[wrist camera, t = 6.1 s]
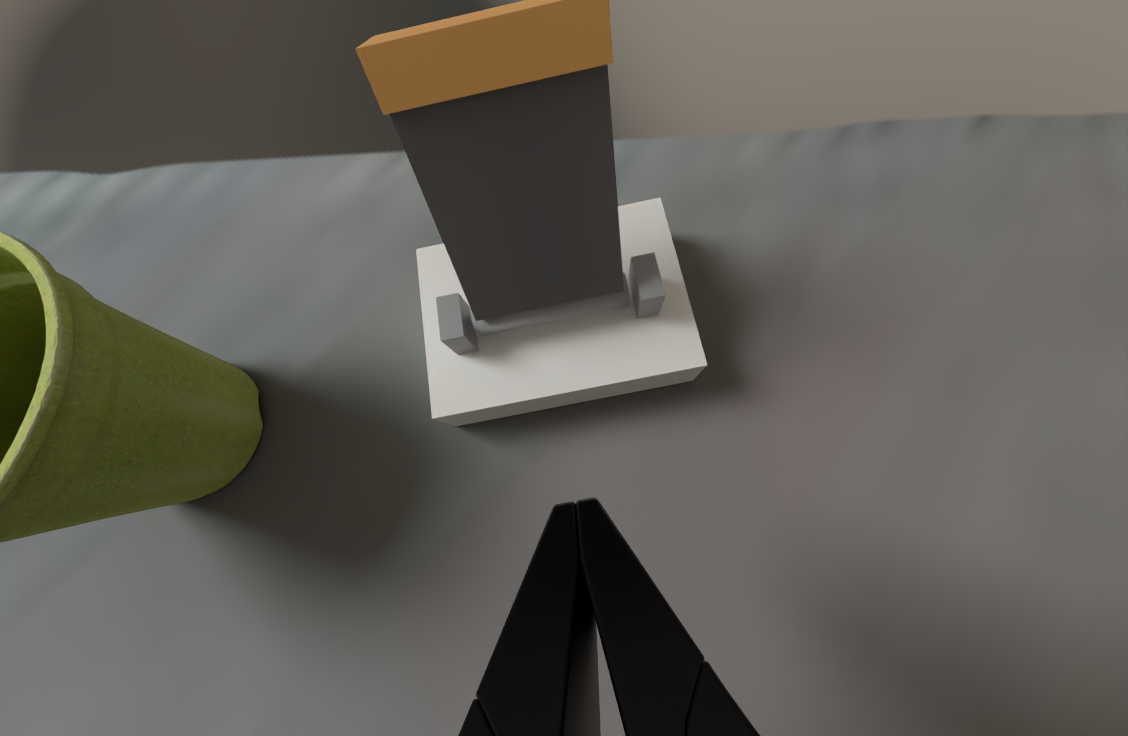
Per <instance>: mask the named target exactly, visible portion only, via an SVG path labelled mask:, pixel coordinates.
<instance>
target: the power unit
mask: <svg viewBox="0 0 1128 736" xmlns="http://www.w3.org/2000/svg"><path fill="white" fill-rule="evenodd" d="M618 216H619V229H620V243H621V256H622V270H623V272H624V273H625V276H626V279H627V283H628V288H629V295H630V306H628V307H623V308H618V309H613V310H608V311H603V312H598V313H593V314H588V315H583V316H578V317H573V318H568V319H563V320H558V321H553V322H548V323H543V324H538V325H533V326H528V327H524V328H519V329H514V330H509V331H504V332H499V333H494V334H489V335H484V336H478V335H477V334H476V332H475V329H474V326H473V323H472V319H471V313H470V306H469V303H468V301H467V298H466V296H465V294H464V291H463V289H462V286H461V284H460V281H459V279H458V277H457V274H456V272H455V269H454V267H453V265H452V262H451V260H450V257H449V255H448V253H447V250H446V248H445V245H444V243H443V244H439V245H434V246H429V247H425V248H420V249H416V253H417V264H418V274H419V285H420V296H421V306H422V317H423V328H424V338H425V349H426V360H427V370H428V381H429V392H430V402H431V413H432V419H435V420H438V421H441V422H444V423H447V424H450V425H453V426H461V425H466V424H471V423H476V422H482V421H487V420H492V419H497V418H502V417H508V416H513V415H518V414H523V413H528V412H533V411H539V410H544V409H549V408H554V407H559V406H565V405H570V404H575V403H580V402H585V401H590V400H596V399H601V398H606V397H611V396H616V395H622V394H627V393H632V392H637V391H642V390H648V389H653V388H658V387H663V386H668V385H673V384H679V383H684V382H689V381H693V380H694V379H695V378H696V377H697V376H698V375H699V374H700V373H701V371H702V370H703V369H704V368H705V367H706V366H707V362H706V358H705V354H704V351H703V347H702V344H701V340H700V337H699V333H698V330H697V326H696V323H695V319H694V315H693V312H692V308H691V305H690V301H689V298H688V294H687V291H686V287H685V283H684V280H683V276H682V273H681V269H680V266H679V262H678V259H677V255H676V251H675V248H674V244H673V241H672V237H671V234H670V230H669V227H668V223H667V219H666V216H665V212H664V209H663V205H662V202H661V198H656V199H651V200H646V201H641V202H637V203H632V204H627V205H623V206H618Z"/></svg>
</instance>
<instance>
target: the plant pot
mask: <svg viewBox="0 0 1128 736" xmlns="http://www.w3.org/2000/svg"><path fill="white" fill-rule="evenodd" d="M258 395H259V391H258V389H257V387H256V385H255V383H254V382H253V381H252V379H251V378H250V377H249V376H248V375H247V374H246V373H245V372H244V371H242V370H241V369H239V368H237V367H236V366H234V365H231V364H229V363H227V362H225V361H223V360H221V359H219V358H216V357H214V356H212V355H210V354H208V353H206V352H204V351H202V350H199V349H197V348H195V347H193V346H191V345H189V344H187V343H184V342H182V341H180V340H178V339H176V338H174V337H172V336H170V335H168V334H165V333H163V332H161V331H159V330H157V329H155V328H153V327H151V326H149V325H147V324H145V323H143V322H141V321H139V320H136V319H134V318H132V317H130V316H128V315H126V314H124V313H122V312H120V311H118V310H116V309H114V308H112V307H110V306H108V305H106V304H104V303H102V302H100V301H99V300H97V299H95V298H94V297H93V296H92V295H91V294H90V293H88V292H87V291H86V290H85V289H84V288H83V287H82V286H81V285H79V284H78V283H76V282H74V281H73V280H71V279H69V278H67V277H65V276H63V275H61V274H59V273H58V272H56V271H55V270H54V268H53V267H52V266H51V264H50V263H49V262H48V261H47V260H46V259H45V258H44V257H43V256H42V255H41V254H40V253H39V252H38V251H36V250H35V249H34V248H32V247H31V246H29V245H28V244H26V243H25V242H23V241H21V240H19V239H17V238H15V237H13V236H11V235H8V234H6V233H4V232H1V231H0V542H5V541H9V540H13V539H18V538H22V537H27V536H31V535H35V534H40V533H44V532H48V531H53V530H57V529H62V528H66V527H70V526H75V525H79V524H83V523H88V522H92V521H96V520H101V519H105V518H110V517H115V516H119V515H124V514H129V513H134V512H138V511H143V510H148V509H153V508H158V507H163V506H168V505H173V504H178V503H182V502H187V501H191V500H195V499H198V498H200V497H203V496H205V495H208V494H210V493H213V492H215V491H217V490H219V489H221V488H222V487H224V486H225V485H227V484H228V483H229V482H231V481H232V480H233V479H234V478H235V477H236V476H237V475H238V474H239V473H240V472H241V471H242V470H243V469H244V467H245V466H246V465H247V463H248V462H249V460H250V458H251V457H252V455H253V453H254V451H255V449H256V447H257V445H258V443H259V439H260V436H261V433H262V427H263V423H262V419H261V416H260V411H259V403H258Z"/></svg>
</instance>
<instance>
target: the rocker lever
mask: <svg viewBox="0 0 1128 736" xmlns="http://www.w3.org/2000/svg"><path fill="white" fill-rule="evenodd" d="M356 51H357V54H358V56H359V58H360V61H361V63H362V65H363V68H364V70H365V72H366V75H367V77H368V79H369V82H370V84H371V86H372V89H373V91H374V94H375V96H376V98H377V101H378V103H379V105H380V108H381V110H382V112H383V114H384V115H386V114H390V115H391V118H392V120H393V122H394V125H395V127H396V130H397V132H398V135H399V137H400V139H401V142H402V144H403V147H404V149H405V151H406V154H407V156H408V159H409V161H410V163H411V166H412V168H413V171H414V173H415V176H416V178H417V180H418V183H419V185H420V188H421V190H422V192H423V195H424V197H425V200H426V202H427V204H428V207H429V209H430V212H431V214H432V216H433V219H434V221H435V224H436V226H437V229H438V231H439V233H440V236H441V238H442V241H443V243H444V245H445V248H446V250H447V253H448V255H449V257H450V260H451V262H452V265H453V267H454V269H455V272H456V274H457V277H458V279H459V281H460V284H461V286H462V289H463V291H464V294H465V296H466V298H467V301H468V303H469V306H470V313H471V319H472V323H473V326H474V329H475V332H476V334H477V335H478V336H484V335H489V334H494V333H499V332H504V331H509V330H514V329H519V328H524V327H528V326H533V325H538V324H543V323H548V322H553V321H558V320H563V319H568V318H573V317H578V316H583V315H588V314H593V313H598V312H603V311H608V310H613V309H618V308H623V307H628V306H630V295H629V288H628V283H627V279H626V276H625V273H624V272H623V270H622V256H621V243H620V229H619V216H618V202H617V189H616V175H615V162H614V148H613V135H612V122H611V108H610V95H609V81H608V67H607V64H611V63H613V56H612V41H611V27H610V11H609V0H525V1H520V2H516V3H512V4H508V5H504V6H499V7H495V8H491V9H487V10H482V11H478V12H474V13H469V14H465V15H461V16H457V17H453V18H448V19H444V20H440V21H435V22H432V23H427V24H423V25H419V26H415V27H410V28H406V29H402V30H397V31H393V32H389V33H384V34H380V35H376V36H373V37H372V38H371V39H369V40H368V41H366V42H365V43H363V44H362V45H360V46H359V47H358V48H356Z"/></svg>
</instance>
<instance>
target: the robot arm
mask: <svg viewBox="0 0 1128 736" xmlns="http://www.w3.org/2000/svg"><path fill="white" fill-rule="evenodd" d="M596 623H597V627H598V631H599V635H600V639H601V643H602V647H603V650H604V654H605V658H606V662H607V666H608V670H609V673H610V677H611V681H612V685H613V689H614V693H615V697H616V700H617V704H618V708H619V712H620V716H621V720H622V723H623V727H624V731H625V735H626V736H760V735H759V733H758V732H757V731H756V730H755V728H754V727H753V726H752V724H751V723H750V722H749V720H748V719H747V717H746V716H745V715H744V713H743V712H742V710H741V709H740V708H739V706H738V705H737V703H736V702H735V701H734V699H733V698H732V696H731V695H730V694H729V692H728V691H727V689H726V688H725V687H724V685H723V684H722V682H721V681H720V679H719V678H718V676H717V675H716V673H715V672H714V670H713V669H712V667H711V666H710V664H709V663H708V662H706V661H705V662H704V656H703V654H702V653H701V652H700V650H699V649H698V647H697V646H696V644H695V643H694V641H693V640H692V638H691V637H690V635H689V634H688V632H687V631H686V629H685V628H684V626H683V625H682V623H681V622H680V620H679V619H678V618H677V616H676V615H675V613H674V612H673V610H672V609H671V607H670V606H669V604H668V603H667V601H666V600H665V598H664V597H663V595H662V594H661V592H660V591H659V589H658V588H657V586H656V585H655V583H654V582H653V581H652V579H651V578H650V576H649V575H648V573H647V572H646V570H645V569H644V567H643V566H642V564H641V563H640V561H639V560H638V558H637V557H636V555H635V554H634V552H633V551H632V549H631V548H630V546H629V545H628V544H627V542H626V541H625V539H624V538H623V536H622V535H621V533H620V532H619V530H618V529H617V527H616V526H615V524H614V523H613V521H612V520H611V518H610V517H609V515H608V514H607V512H606V511H605V509H604V508H603V507H602V505H601V504H600V502H599V501H598V499H596V498H588V499H583V500H578V501H577V502H576V504H575V503H574V502H566V503H561V504H556V505H555V506H554V507H553V509H552V511H551V513H550V516H549V518H548V521H547V523H546V526H545V528H544V530H543V533H542V535H541V538H540V540H539V542H538V545H537V547H536V550H535V552H534V555H533V557H532V559H531V562H530V564H529V567H528V569H527V572H526V574H525V576H524V579H523V581H522V584H521V586H520V588H519V591H518V593H517V596H516V598H515V601H514V603H513V605H512V608H511V610H510V613H509V615H508V618H507V620H506V622H505V625H504V627H503V630H502V632H501V634H500V637H499V639H498V642H497V644H496V647H495V649H494V651H493V654H492V656H491V659H490V661H489V664H488V666H487V668H486V671H485V673H484V676H483V678H482V681H481V683H480V685H479V688H478V690H477V693H476V697H477V699H478V700H477V699H474V700H473V702H472V704H471V707H470V709H469V711H468V714H467V716H466V719H465V721H464V724H463V726H462V728H461V731H460V733H459V735H458V736H601V734H600V708H599V681H598V654H597V631H596Z"/></svg>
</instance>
